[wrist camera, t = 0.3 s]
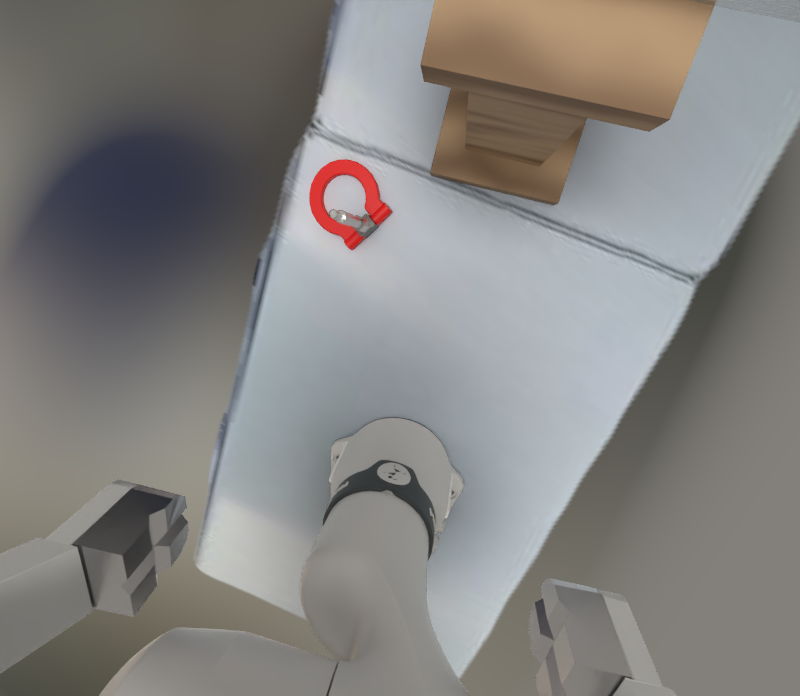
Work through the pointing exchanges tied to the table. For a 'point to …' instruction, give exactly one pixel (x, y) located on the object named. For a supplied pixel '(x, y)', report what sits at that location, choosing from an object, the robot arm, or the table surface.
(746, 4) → the metal block
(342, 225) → the tow hook
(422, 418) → the table surface
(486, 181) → the walnut stand
